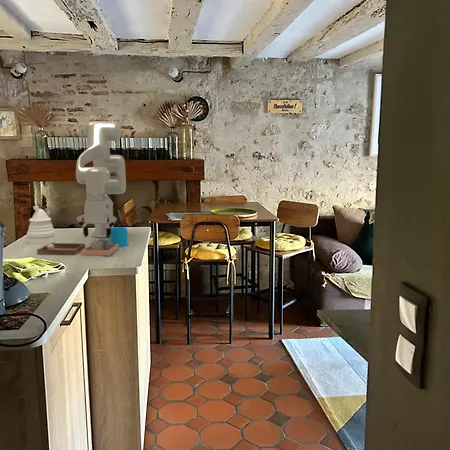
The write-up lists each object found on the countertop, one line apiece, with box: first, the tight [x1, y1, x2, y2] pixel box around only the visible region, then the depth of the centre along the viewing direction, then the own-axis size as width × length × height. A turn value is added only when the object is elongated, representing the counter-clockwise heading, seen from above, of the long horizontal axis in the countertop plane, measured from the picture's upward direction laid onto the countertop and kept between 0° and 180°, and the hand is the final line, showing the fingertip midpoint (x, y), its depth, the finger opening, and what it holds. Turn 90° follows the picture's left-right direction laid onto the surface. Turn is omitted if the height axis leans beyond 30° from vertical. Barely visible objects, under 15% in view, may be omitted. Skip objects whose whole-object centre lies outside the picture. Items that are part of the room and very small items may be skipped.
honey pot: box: [26, 205, 57, 245], centre depth 220 cm, size 13×13×18 cm
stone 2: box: [97, 237, 110, 250], centre depth 204 cm, size 4×4×5 cm
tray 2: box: [81, 244, 120, 257], centre depth 201 cm, size 14×12×2 cm
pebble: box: [47, 243, 55, 250], centre depth 201 cm, size 3×3×3 cm
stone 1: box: [90, 240, 103, 250], centre depth 198 cm, size 4×4×5 cm
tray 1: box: [36, 242, 86, 256], centre depth 201 cm, size 14×16×2 cm
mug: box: [109, 226, 128, 248], centre depth 218 cm, size 12×8×8 cm
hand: (97, 236), depth 198 cm, fingers open, 9 cm apart
